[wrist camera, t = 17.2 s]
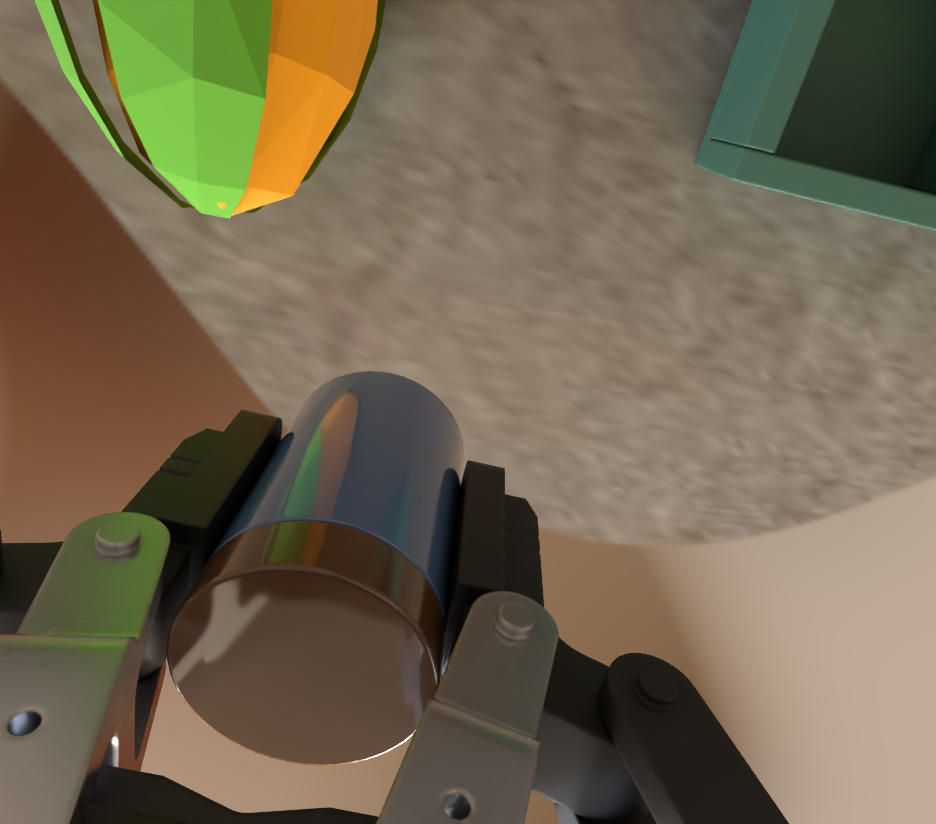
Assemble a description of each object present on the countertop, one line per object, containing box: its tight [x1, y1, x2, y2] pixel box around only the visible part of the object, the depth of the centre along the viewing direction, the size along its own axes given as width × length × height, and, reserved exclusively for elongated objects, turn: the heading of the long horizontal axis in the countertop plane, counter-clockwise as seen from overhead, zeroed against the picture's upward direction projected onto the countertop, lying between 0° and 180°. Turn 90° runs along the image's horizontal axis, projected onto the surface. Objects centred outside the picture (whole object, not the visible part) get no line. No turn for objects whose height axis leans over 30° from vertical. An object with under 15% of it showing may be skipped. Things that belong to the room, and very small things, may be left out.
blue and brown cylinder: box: [167, 371, 464, 765], centre depth 12 cm, size 4×4×6 cm
